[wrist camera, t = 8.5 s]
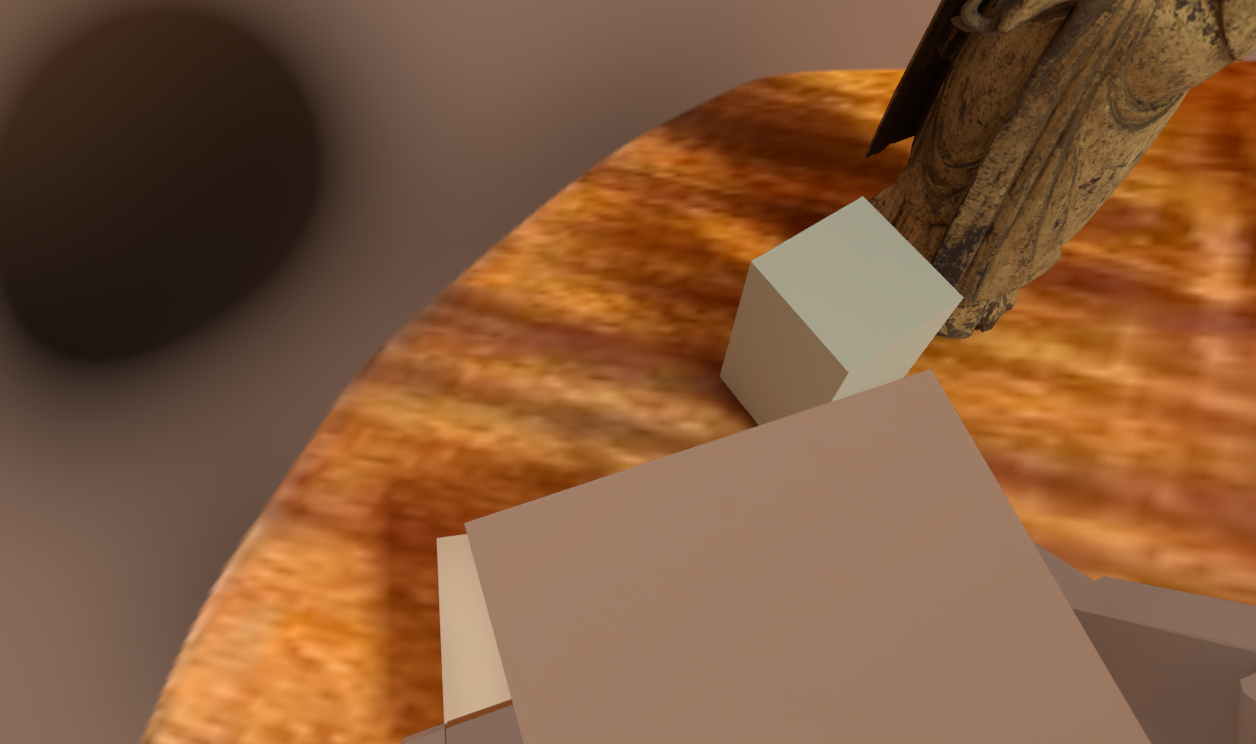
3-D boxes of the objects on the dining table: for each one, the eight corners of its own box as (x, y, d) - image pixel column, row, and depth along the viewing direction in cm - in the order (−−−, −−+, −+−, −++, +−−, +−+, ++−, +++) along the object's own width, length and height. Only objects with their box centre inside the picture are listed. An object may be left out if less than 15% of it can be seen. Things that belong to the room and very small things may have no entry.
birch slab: (682, 535, 29) (692, 502, 25) (725, 782, 25) (744, 785, 22) (458, 567, 28) (436, 537, 24) (472, 824, 25) (448, 835, 21)
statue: (845, 149, 36) (1218, -836, 14) (1045, 225, 35) (1835, -758, 12) (770, 301, 33) (1111, -701, 10) (989, 394, 31) (1969, -565, 9)
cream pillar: (772, 565, 15) (930, 368, 7) (888, 831, 13) (1246, 906, 6) (537, 652, 14) (463, 523, 7) (623, 947, 12) (649, 1205, 5)
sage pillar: (807, 321, 32) (862, 196, 25) (882, 406, 31) (963, 297, 24) (719, 376, 31) (750, 260, 24) (791, 467, 30) (848, 372, 22)
